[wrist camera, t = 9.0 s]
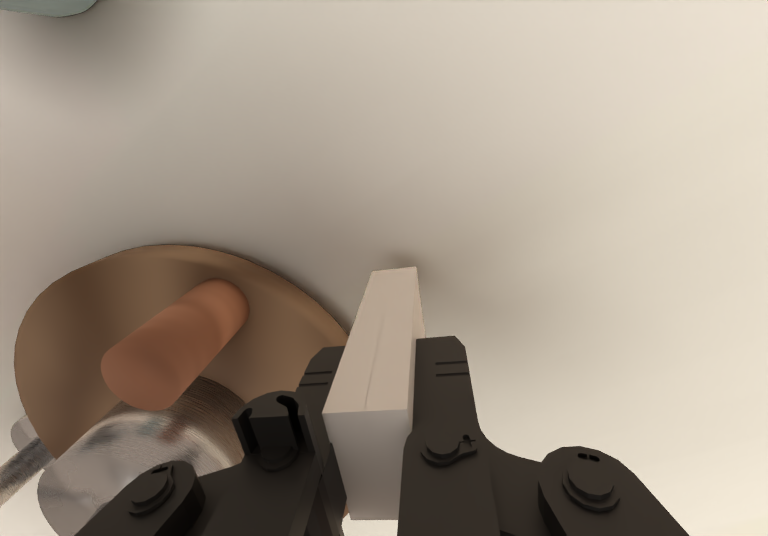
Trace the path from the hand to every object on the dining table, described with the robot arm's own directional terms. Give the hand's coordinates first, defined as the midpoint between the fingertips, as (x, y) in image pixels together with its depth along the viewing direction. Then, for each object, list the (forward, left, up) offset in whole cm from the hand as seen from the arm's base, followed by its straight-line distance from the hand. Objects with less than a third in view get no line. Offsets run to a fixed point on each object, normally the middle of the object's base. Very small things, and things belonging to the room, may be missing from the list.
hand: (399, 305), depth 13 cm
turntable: (-7, -11, -4) cm, 14 cm away
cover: (-6, -11, -2) cm, 13 cm away
